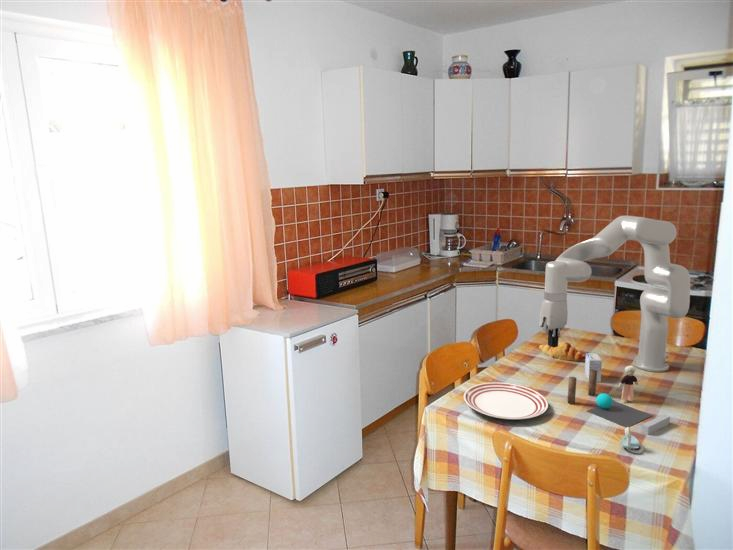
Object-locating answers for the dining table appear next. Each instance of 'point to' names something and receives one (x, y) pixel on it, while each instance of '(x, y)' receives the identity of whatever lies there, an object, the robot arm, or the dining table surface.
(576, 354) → the croissant
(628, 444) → the pacifier
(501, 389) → the dinner plate
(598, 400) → the ball
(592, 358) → the medicine box
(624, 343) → the dining table surface
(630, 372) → the grandmother figurine
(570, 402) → the post far
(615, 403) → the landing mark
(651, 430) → the wall
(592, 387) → the post near arm
